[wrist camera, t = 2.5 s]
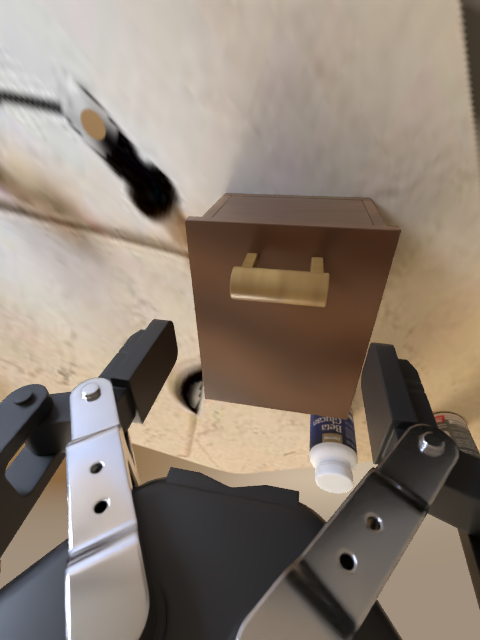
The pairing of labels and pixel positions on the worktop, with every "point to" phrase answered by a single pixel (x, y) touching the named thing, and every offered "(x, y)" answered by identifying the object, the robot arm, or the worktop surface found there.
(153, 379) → the robot arm
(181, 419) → the worktop surface
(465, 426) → the pill bottle
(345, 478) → the pill bottle
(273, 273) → the lid
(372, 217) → the chest
